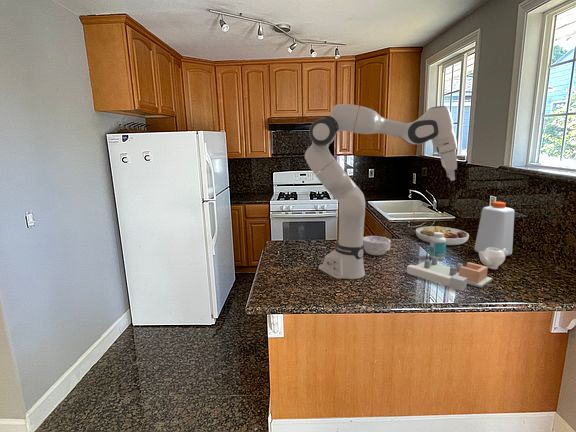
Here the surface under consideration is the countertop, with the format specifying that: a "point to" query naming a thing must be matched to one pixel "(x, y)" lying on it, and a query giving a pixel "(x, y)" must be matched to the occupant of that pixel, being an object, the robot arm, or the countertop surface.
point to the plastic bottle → (496, 228)
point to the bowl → (450, 234)
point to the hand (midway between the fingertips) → (451, 178)
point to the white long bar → (438, 277)
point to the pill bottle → (437, 246)
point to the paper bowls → (376, 245)
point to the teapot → (492, 257)
